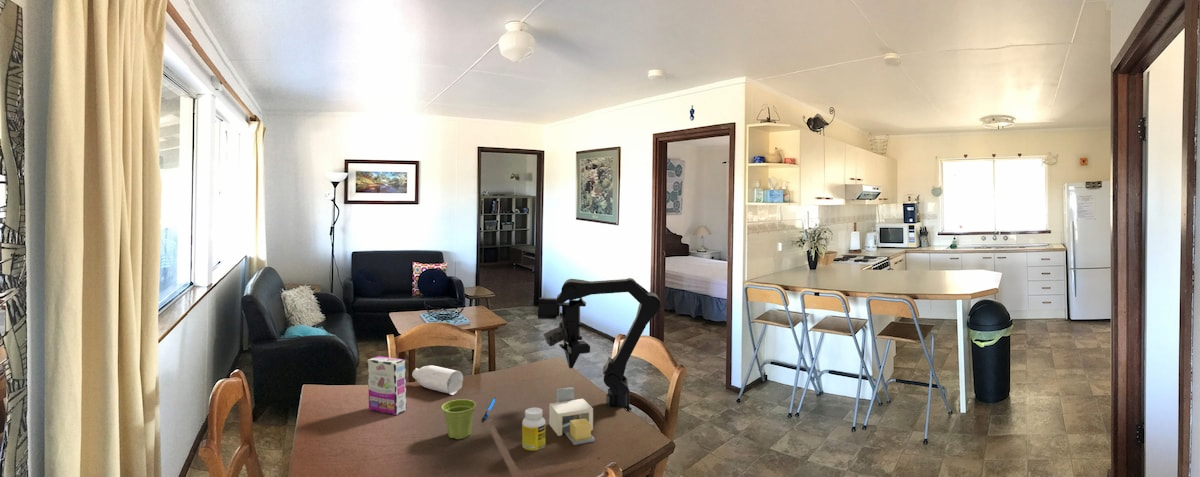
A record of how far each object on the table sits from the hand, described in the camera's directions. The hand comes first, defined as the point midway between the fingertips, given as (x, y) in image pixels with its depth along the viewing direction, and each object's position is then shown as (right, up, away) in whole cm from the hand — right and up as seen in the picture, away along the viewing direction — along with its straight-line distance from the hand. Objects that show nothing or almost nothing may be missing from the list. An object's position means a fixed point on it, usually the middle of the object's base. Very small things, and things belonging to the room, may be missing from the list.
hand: (570, 368), depth 180 cm
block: (+4, -14, -24) cm, 28 cm away
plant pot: (-31, -15, -19) cm, 39 cm away
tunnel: (0, -14, -13) cm, 20 cm away
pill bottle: (-8, -16, -28) cm, 33 cm away
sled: (+2, -14, -19) cm, 24 cm away
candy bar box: (-57, -13, -2) cm, 59 cm away
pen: (-26, -14, -1) cm, 29 cm away
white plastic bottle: (-47, -12, +16) cm, 51 cm away
